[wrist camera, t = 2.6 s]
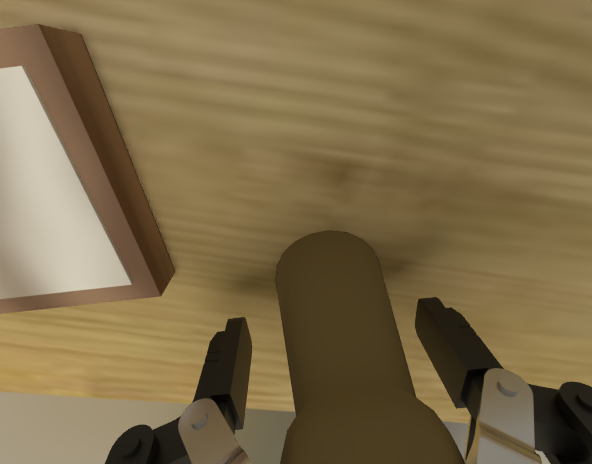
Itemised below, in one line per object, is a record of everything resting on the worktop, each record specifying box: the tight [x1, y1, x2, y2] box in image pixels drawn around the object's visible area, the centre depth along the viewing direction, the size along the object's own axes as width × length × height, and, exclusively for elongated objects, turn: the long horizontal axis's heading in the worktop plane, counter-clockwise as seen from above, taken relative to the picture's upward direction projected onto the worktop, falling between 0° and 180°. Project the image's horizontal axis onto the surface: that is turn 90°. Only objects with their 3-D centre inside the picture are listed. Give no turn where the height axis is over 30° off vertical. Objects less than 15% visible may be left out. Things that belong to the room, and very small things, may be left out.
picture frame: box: [0, 24, 175, 314], centre depth 12 cm, size 11×11×2 cm
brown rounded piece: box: [276, 231, 466, 464], centre depth 11 cm, size 6×6×11 cm
